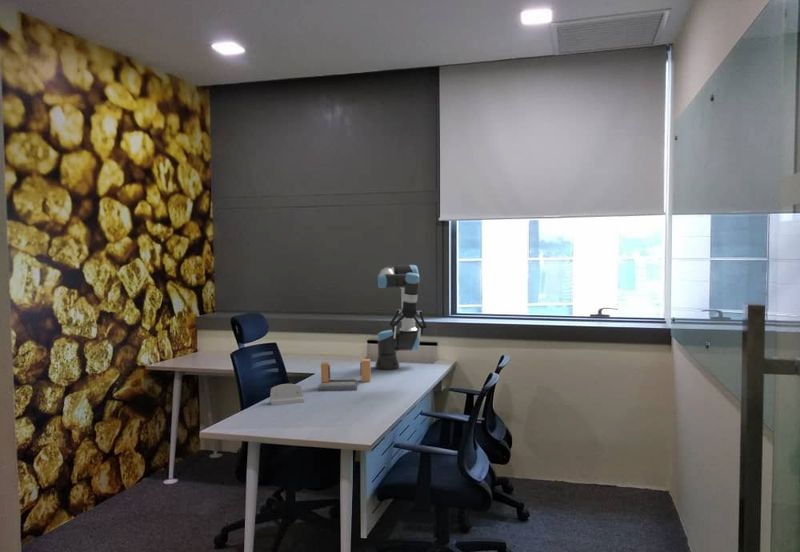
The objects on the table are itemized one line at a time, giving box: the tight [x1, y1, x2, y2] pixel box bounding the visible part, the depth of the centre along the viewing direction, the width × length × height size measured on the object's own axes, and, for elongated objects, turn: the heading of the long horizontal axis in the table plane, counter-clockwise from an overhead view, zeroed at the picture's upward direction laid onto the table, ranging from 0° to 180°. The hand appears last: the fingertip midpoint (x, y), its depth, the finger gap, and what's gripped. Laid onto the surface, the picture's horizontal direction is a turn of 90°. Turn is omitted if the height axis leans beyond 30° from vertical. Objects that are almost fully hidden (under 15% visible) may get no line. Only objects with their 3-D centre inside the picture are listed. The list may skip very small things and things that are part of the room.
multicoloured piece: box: [318, 361, 359, 392], centre depth 312 cm, size 14×20×14 cm
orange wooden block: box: [359, 358, 372, 383], centre depth 327 cm, size 5×6×12 cm
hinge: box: [269, 383, 305, 406], centre depth 285 cm, size 17×5×10 cm, turn 107°
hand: (406, 339), depth 314 cm, fingers open, 13 cm apart
